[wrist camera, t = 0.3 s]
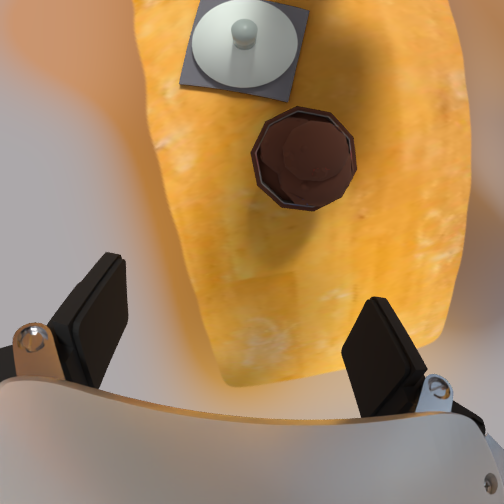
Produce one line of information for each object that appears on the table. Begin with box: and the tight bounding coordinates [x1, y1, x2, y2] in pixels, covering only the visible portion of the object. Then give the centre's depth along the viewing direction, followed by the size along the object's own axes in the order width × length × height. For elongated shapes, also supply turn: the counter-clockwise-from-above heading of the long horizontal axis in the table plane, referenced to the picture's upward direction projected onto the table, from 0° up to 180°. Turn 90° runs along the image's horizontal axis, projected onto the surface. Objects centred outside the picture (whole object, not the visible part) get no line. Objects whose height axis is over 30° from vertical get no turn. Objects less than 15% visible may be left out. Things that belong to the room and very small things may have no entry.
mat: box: [179, 0, 309, 102], centre depth 29 cm, size 14×14×1 cm
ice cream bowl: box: [251, 106, 357, 211], centre depth 29 cm, size 11×11×15 cm
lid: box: [192, 0, 298, 88], centre depth 26 cm, size 13×13×6 cm
